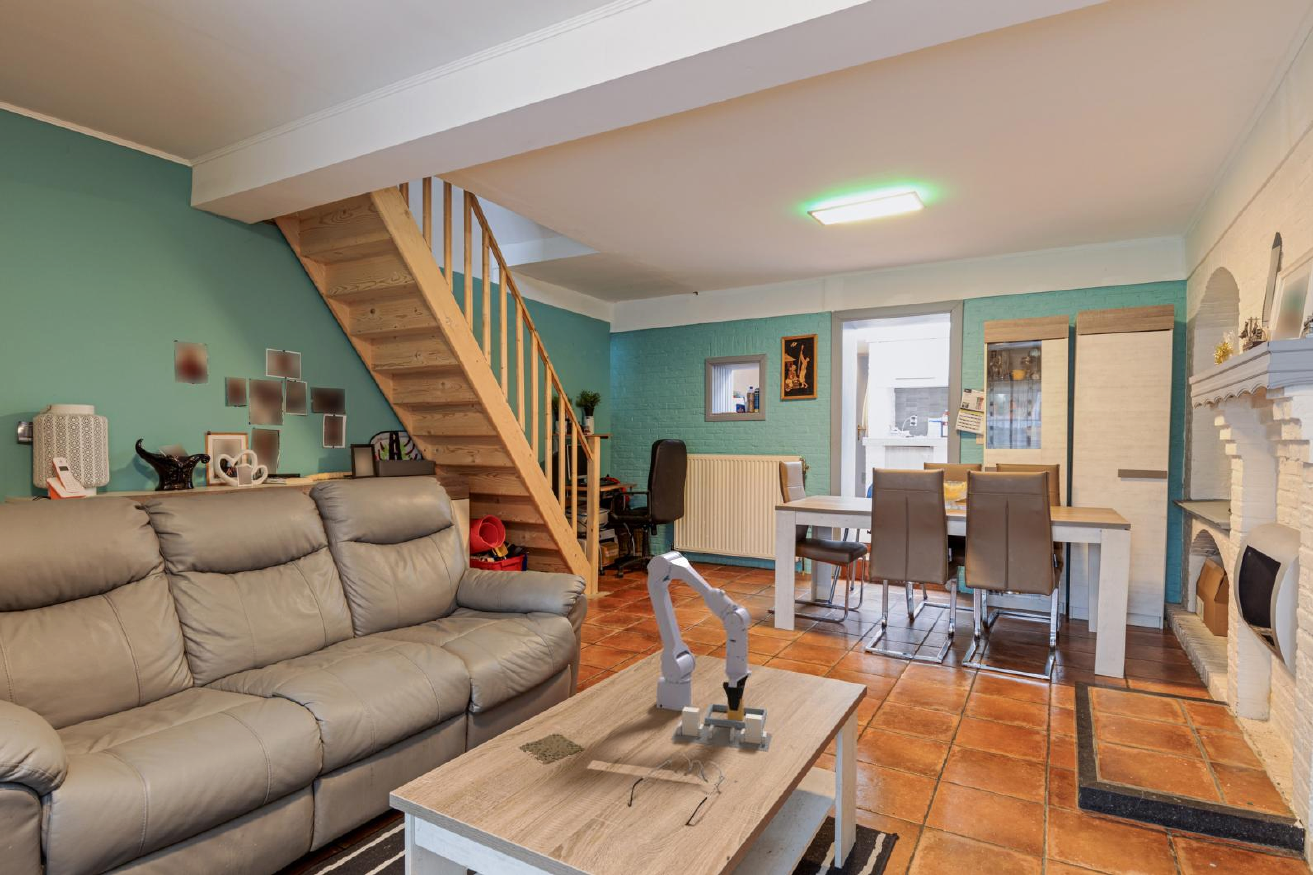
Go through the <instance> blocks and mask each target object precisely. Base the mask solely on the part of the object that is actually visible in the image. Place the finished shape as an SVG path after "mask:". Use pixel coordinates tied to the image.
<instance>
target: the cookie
mask: <svg viewBox="0 0 1313 875" xmlns="http://www.w3.org/2000/svg"><path fill="white" fill-rule="evenodd" d="M519 748H520V749H519ZM518 749H519V750H521V749H522V750H523V751H522V750H521V751H522V752H524V751H529V752H532V753H530V754H533V755H537V757H535V758H536V759H537V760H536V759H535V758H534V759H535V760H536V761H538V760H541V761H543V763H544V764H545V765H544V764H543V765H544V766H546V765H549V763H550V764H552V763H554V762H556V761H555V760H557V761H560V760H562V759H565V758H567V757H566V756H568V755H570V756H573V755H574V754H575V753H576V754H578V753H580V752H579V751H581V752H583V751H585V748H584V747H583V746H581V745H580V744H577V743H576V742H574V741H572V740H570V739H568V738H567V737H565V736H564V735H563V734H560V733H552V734H549V735H548V736H545V737H543V738H539V739H537V740H534V741H532V742H527V743H525V744H523V745H521V746H519V747H518ZM577 752H578V753H577ZM538 755H539V756H538ZM564 757H565V758H564ZM568 757H569V756H568ZM559 759H560V760H559ZM551 762H552V763H551Z"/></svg>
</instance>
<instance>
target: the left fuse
mask: <svg viewBox="0 0 1313 875" xmlns="http://www.w3.org/2000/svg"><path fill="white" fill-rule="evenodd" d="M700 712H701V711H700V708H698V707H692V706H691V707H684V708H683V710H681V721H682V734H684V735H692V736H698V730H699V727H700V725H701V723H700V721H701V720H700V718H701V717H700V716H701V713H700Z"/></svg>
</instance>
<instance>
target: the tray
mask: <svg viewBox="0 0 1313 875" xmlns="http://www.w3.org/2000/svg"><path fill="white" fill-rule="evenodd" d="M714 711H719V712H720V711H721V712H727V704H721V703H710V706H709V707H708V710H707V712H706V714H705V717H704V725H708V726H709V725H710V726H711V725H714V726H720V727H729V728H732V727H734V728H735V729H742V728H743V729H745V721H734V720H727V719H725V718H724V719H723V718H715V717H711V716H712V714H713V712H714ZM746 714H754V715H763V720H762V732H764V727H765V723H766V719H767V708H760V707H759V708H757V707H751V706H749V707H748V706H744V715H746Z"/></svg>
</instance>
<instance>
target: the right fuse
mask: <svg viewBox="0 0 1313 875" xmlns="http://www.w3.org/2000/svg"><path fill="white" fill-rule="evenodd" d="M744 719H745V720H744V722H745V742H750V743H759V744H761V743H762V733H763V731H762V720H763V715H754V714H745V716H744Z"/></svg>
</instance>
